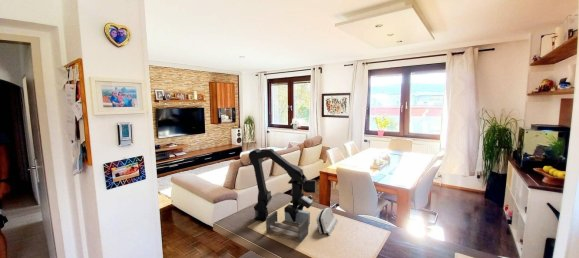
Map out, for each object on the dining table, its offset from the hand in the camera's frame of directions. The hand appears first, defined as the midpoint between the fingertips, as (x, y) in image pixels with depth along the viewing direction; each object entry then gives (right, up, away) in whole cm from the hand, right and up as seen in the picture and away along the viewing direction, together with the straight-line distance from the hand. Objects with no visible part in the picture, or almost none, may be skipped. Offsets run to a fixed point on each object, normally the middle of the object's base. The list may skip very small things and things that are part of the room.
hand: (297, 219), depth 133 cm
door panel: (0, -2, 0) cm, 2 cm away
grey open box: (-5, -3, -11) cm, 13 cm away
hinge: (+16, -3, -5) cm, 16 cm away
